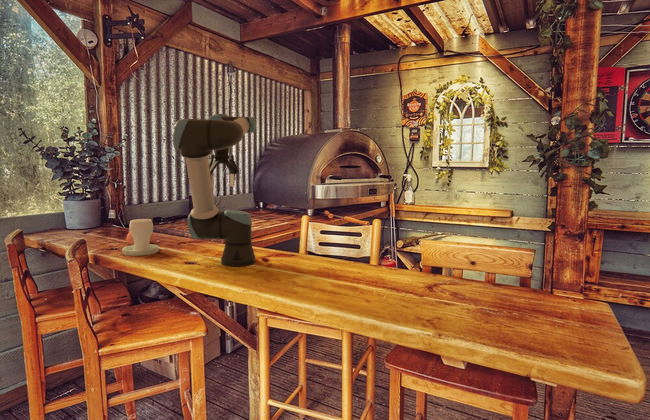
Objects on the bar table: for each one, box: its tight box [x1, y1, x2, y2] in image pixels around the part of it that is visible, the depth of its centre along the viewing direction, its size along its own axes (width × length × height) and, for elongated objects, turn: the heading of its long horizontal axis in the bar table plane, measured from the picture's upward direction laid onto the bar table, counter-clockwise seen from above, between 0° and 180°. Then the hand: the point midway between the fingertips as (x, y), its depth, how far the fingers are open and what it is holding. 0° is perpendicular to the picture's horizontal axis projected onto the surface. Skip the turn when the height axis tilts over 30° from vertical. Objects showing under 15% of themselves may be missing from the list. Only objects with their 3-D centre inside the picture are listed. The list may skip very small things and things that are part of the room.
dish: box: [121, 243, 160, 257], centre depth 192 cm, size 16×16×2 cm
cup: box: [128, 218, 154, 251], centre depth 192 cm, size 11×11×15 cm
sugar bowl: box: [125, 230, 155, 246], centre depth 209 cm, size 12×14×10 cm
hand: (222, 187), depth 202 cm, fingers open, 13 cm apart
